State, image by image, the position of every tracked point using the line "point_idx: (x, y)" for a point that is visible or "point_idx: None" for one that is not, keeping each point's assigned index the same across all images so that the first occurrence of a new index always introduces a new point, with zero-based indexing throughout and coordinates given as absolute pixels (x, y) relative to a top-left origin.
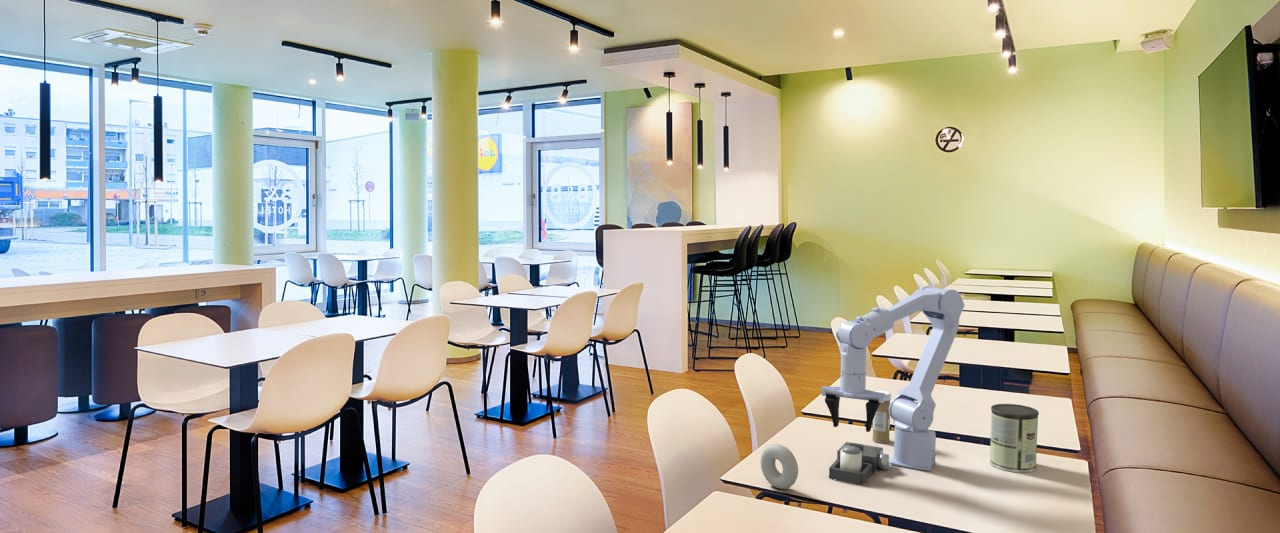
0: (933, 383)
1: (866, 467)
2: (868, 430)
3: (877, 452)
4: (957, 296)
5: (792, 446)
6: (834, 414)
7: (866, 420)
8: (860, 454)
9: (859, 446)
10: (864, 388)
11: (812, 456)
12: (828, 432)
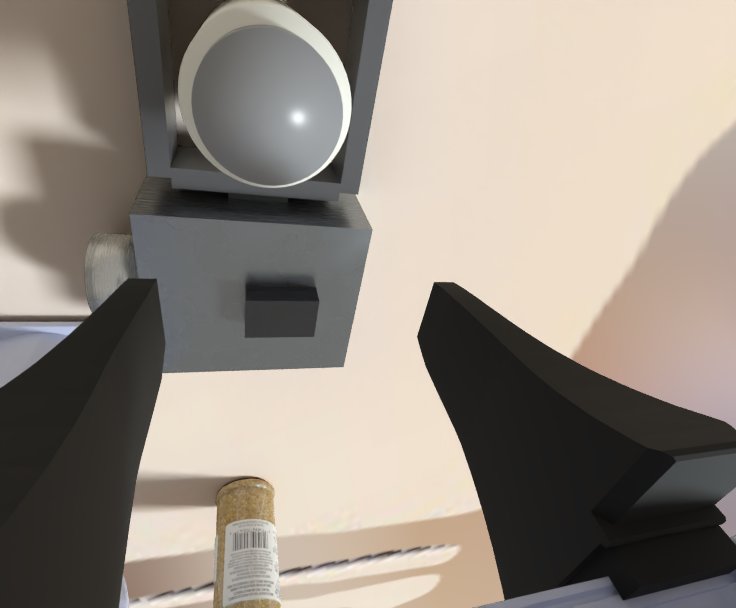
0: None
1: (159, 95)
2: (125, 284)
3: None
4: None
5: None
6: (507, 344)
7: (117, 343)
8: (180, 69)
9: (257, 301)
10: None
11: (461, 273)
12: (410, 474)
